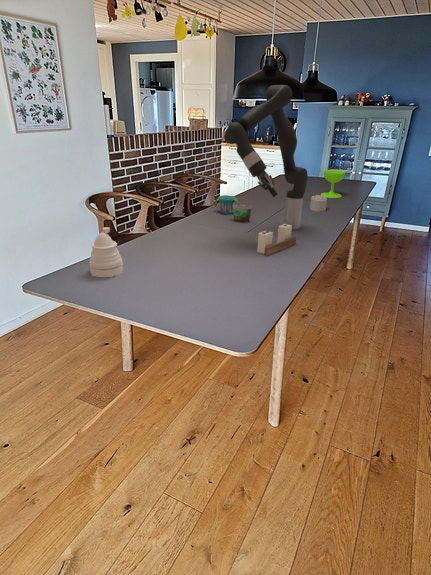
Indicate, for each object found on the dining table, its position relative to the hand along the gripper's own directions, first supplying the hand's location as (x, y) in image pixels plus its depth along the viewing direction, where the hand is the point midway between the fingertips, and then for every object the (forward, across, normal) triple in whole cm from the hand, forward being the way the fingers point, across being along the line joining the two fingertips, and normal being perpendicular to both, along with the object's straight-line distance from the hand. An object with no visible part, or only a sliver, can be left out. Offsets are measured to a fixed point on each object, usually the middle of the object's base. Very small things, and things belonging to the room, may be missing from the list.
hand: (275, 195), depth 177 cm
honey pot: (-14, -61, +54) cm, 83 cm away
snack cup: (-10, +50, +53) cm, 74 cm away
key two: (+18, -10, +16) cm, 26 cm away
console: (+19, -2, +17) cm, 25 cm away
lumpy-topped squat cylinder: (+23, +90, +16) cm, 94 cm away
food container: (0, +36, +41) cm, 55 cm away
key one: (+21, +5, +12) cm, 25 cm away
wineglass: (+24, +139, +17) cm, 142 cm away
